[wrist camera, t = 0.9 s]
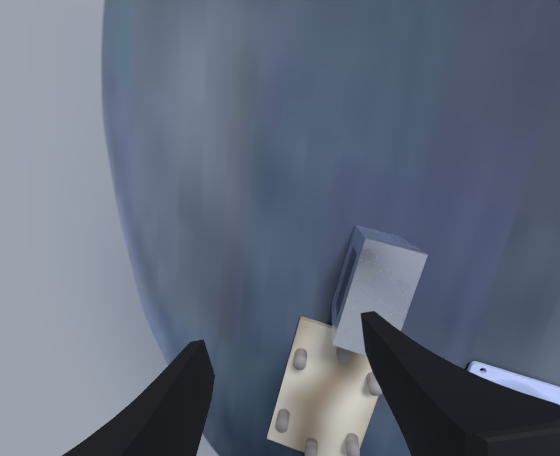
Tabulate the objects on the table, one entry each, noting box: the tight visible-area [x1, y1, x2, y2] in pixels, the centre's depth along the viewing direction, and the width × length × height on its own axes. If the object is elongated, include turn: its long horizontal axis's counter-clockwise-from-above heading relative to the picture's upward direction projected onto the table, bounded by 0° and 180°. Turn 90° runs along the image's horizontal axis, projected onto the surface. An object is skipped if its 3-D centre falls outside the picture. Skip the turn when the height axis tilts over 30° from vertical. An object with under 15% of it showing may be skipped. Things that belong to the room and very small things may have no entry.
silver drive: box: [331, 225, 428, 356], centre depth 22 cm, size 4×8×7 cm, turn 166°
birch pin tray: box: [267, 316, 382, 456], centre depth 27 cm, size 9×14×2 cm, turn 166°
